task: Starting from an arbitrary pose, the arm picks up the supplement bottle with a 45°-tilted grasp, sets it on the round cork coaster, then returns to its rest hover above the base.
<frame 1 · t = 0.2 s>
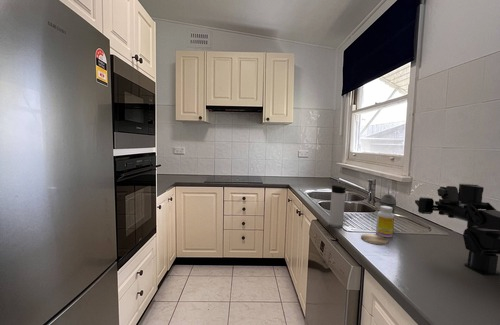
hand: (425, 201, 105), 16 cm above the countertop, tool horizontal, fingers open, 9 cm apart
travel mug: (335, 226, 120), on the countertop
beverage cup: (385, 225, 124), on the countertop
coaster: (374, 239, 104), on the countertop
supplement bottle: (384, 235, 110), on the countertop
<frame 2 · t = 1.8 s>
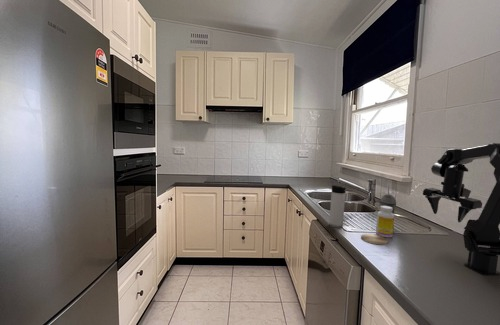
hand: (446, 217, 100), 12 cm above the countertop, tool pointing down, fingers open, 9 cm apart
nothing on the countertop moved.
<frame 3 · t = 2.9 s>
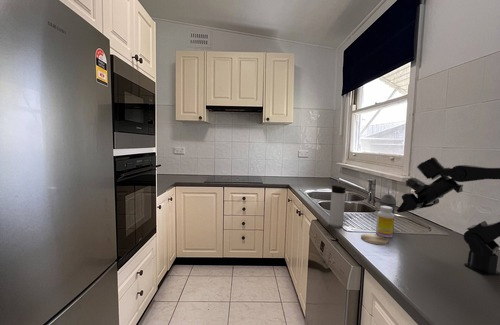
hand: (403, 210, 102), 13 cm above the countertop, tool tilted 45°, fingers open, 9 cm apart
nothing on the countertop moved.
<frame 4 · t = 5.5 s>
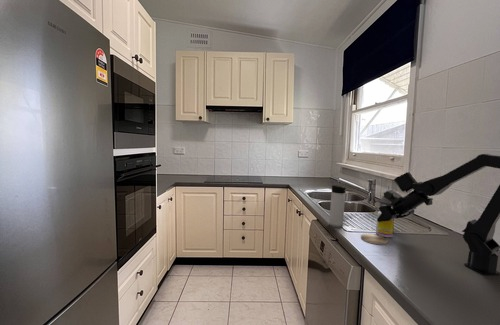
hand: (382, 219, 110), 7 cm above the countertop, tool tilted 45°, fingers closed on supplement bottle, 7 cm apart
supplement bottle: (384, 235, 110), on the countertop, touching gripper
everything else where it was.
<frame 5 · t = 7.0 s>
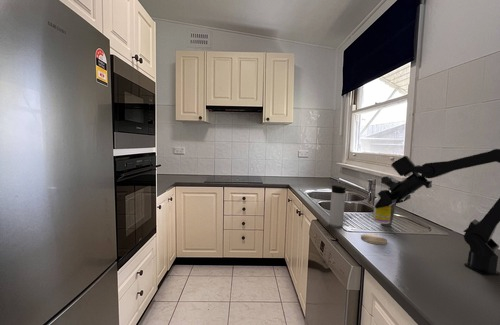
hand: (379, 206, 108), 13 cm above the countertop, tool tilted 45°, fingers closed on supplement bottle, 7 cm apart
supplement bottle: (381, 222, 107), point 6 cm above the countertop, touching gripper
everything else where it was.
when the fingers open (8 cm above the countertop, at t = 8.7 s): supplement bottle drops 1 cm, resting on coaster.
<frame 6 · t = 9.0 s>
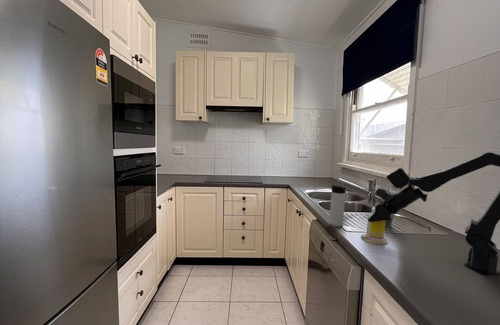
hand: (372, 218, 104), 9 cm above the countertop, tool tilted 45°, fingers open, 9 cm apart
supplement bottle: (374, 238, 104), resting on coaster
everything else where it was.
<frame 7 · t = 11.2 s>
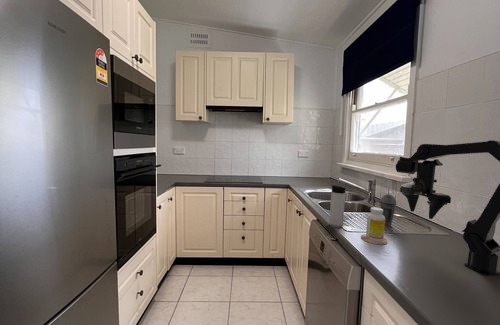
hand: (420, 214, 97), 13 cm above the countertop, tool pointing down, fingers open, 9 cm apart
nothing on the countertop moved.
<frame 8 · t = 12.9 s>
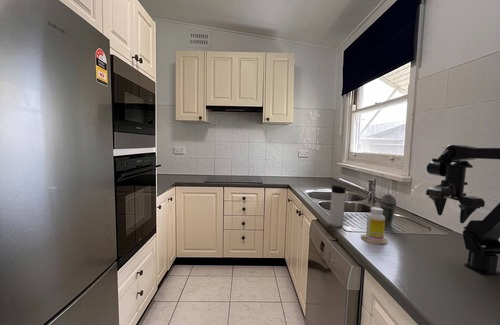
hand: (450, 219, 93), 13 cm above the countertop, tool pointing down, fingers open, 9 cm apart
nothing on the countertop moved.
at the end: supplement bottle 0.2 cm from the coaster (horizontally); supplement bottle tilted 1°; the gripper is holding nothing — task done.
